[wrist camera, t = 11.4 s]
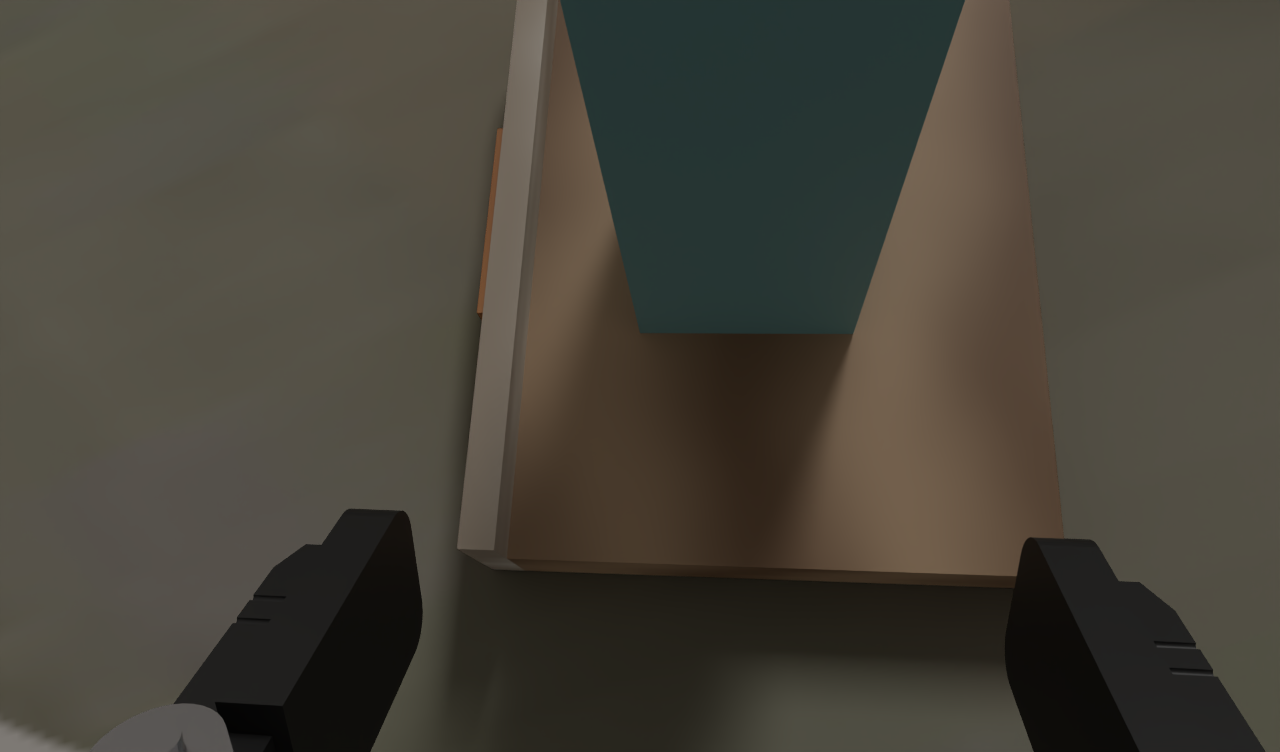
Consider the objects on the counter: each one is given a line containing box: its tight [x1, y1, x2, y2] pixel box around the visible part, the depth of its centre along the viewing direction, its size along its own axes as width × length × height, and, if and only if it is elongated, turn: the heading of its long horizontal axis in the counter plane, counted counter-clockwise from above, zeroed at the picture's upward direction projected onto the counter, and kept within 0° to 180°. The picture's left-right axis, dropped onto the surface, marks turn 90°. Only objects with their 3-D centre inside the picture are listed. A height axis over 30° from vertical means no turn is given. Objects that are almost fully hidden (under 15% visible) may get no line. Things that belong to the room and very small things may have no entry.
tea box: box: [560, 0, 965, 334], centre depth 17 cm, size 5×5×12 cm
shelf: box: [457, 0, 1064, 588], centre depth 23 cm, size 13×16×3 cm
